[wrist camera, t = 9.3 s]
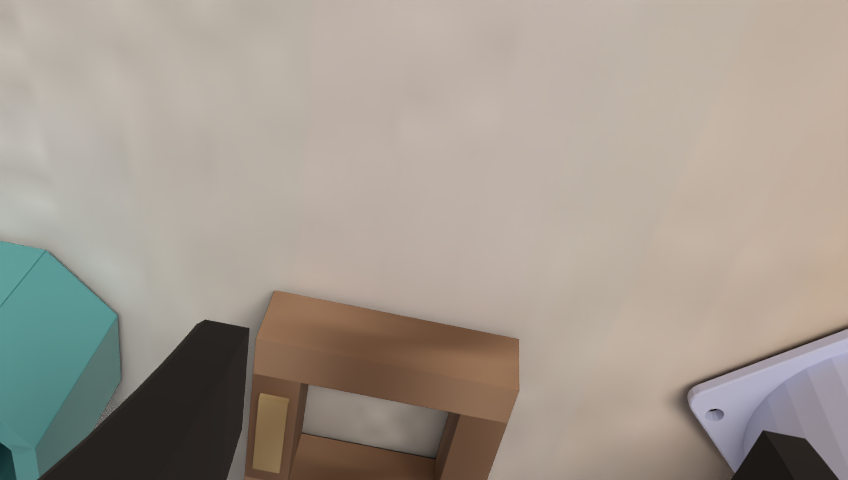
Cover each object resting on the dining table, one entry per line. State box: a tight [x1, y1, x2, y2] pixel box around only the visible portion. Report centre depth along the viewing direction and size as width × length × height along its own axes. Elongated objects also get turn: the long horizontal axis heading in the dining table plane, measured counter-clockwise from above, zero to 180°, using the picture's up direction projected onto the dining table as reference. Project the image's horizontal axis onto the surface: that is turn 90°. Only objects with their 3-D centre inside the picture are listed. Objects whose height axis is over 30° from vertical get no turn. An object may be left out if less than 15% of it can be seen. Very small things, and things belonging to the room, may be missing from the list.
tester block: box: [244, 291, 519, 480], centre depth 24 cm, size 7×7×2 cm
